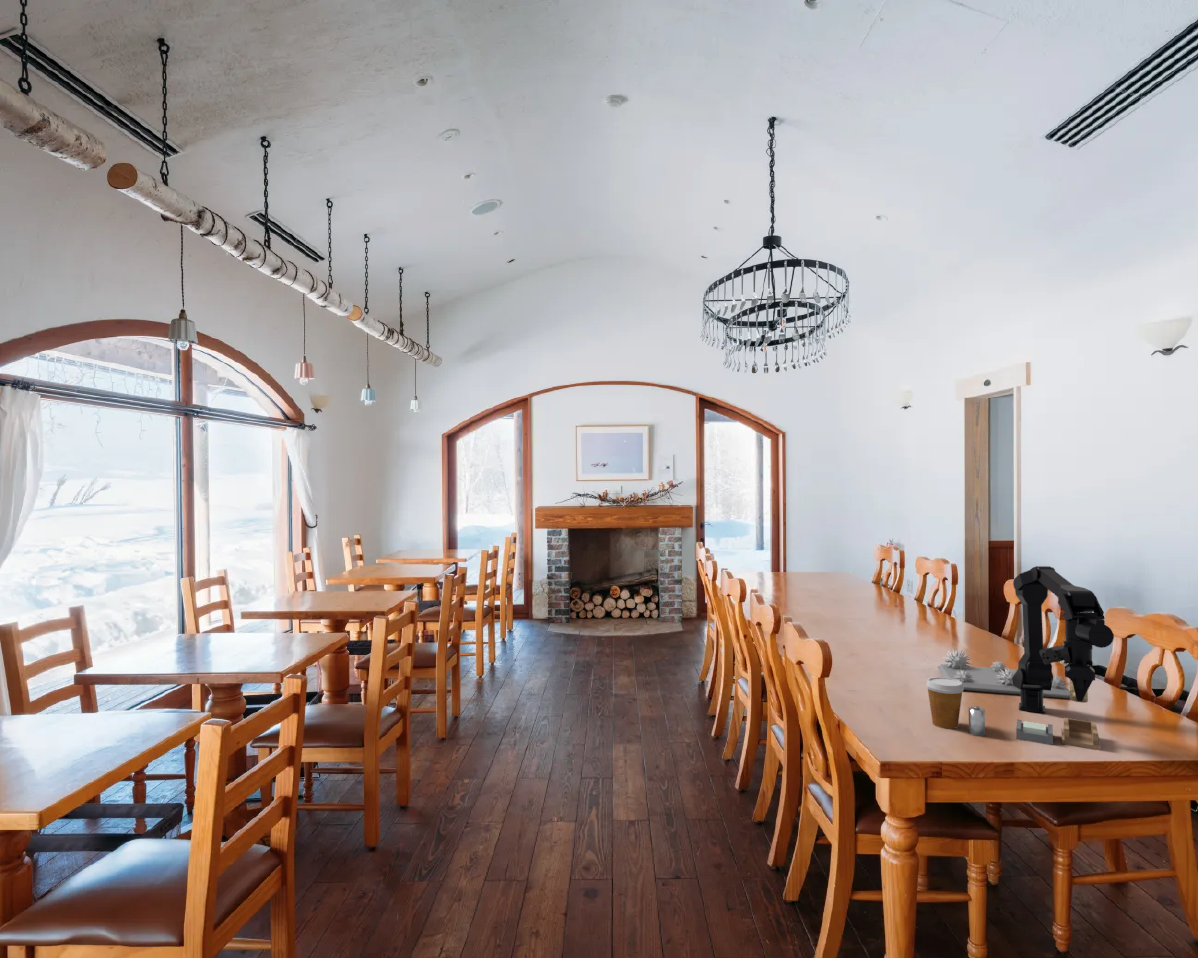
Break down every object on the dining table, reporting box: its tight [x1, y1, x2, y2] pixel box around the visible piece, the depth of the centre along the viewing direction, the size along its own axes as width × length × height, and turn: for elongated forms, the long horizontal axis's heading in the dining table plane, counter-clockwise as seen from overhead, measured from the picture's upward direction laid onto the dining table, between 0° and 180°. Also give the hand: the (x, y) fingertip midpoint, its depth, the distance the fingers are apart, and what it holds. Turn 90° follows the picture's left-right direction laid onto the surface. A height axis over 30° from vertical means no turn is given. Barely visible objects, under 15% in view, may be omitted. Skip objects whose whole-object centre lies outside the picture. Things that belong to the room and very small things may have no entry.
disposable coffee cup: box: [925, 676, 965, 729], centre depth 192 cm, size 10×10×12 cm
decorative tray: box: [937, 648, 1070, 700], centre depth 231 cm, size 35×26×10 cm
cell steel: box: [968, 705, 986, 737], centre depth 185 cm, size 4×4×7 cm
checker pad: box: [1022, 720, 1047, 734], centre depth 182 cm, size 5×5×1 cm
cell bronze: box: [1069, 679, 1089, 704], centre depth 180 cm, size 4×4×7 cm
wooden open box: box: [1061, 717, 1102, 751], centre depth 180 cm, size 10×8×4 cm
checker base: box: [1015, 718, 1054, 746], centre depth 182 cm, size 8×8×3 cm
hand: (1079, 698), depth 180 cm, fingers closed on cell bronze, 4 cm apart
